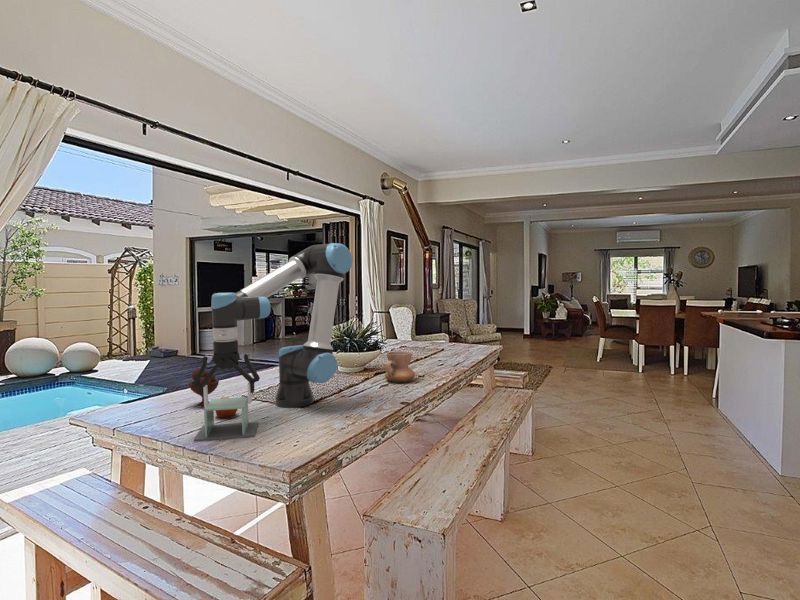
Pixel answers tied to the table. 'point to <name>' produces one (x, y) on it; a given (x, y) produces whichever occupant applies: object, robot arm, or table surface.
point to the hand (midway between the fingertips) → (228, 404)
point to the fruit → (225, 412)
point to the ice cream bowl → (211, 384)
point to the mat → (227, 431)
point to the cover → (225, 405)
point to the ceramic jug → (399, 367)
